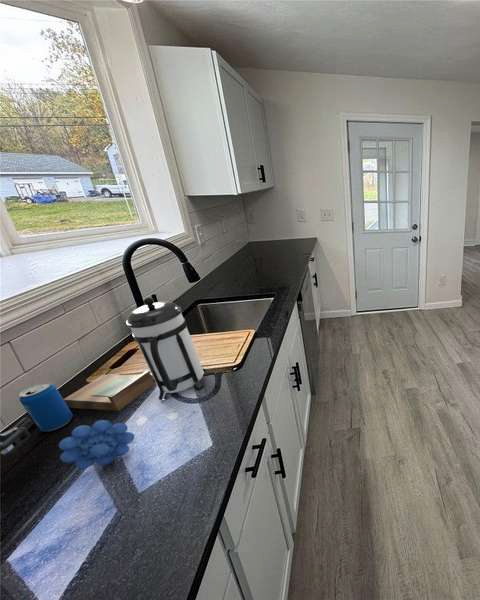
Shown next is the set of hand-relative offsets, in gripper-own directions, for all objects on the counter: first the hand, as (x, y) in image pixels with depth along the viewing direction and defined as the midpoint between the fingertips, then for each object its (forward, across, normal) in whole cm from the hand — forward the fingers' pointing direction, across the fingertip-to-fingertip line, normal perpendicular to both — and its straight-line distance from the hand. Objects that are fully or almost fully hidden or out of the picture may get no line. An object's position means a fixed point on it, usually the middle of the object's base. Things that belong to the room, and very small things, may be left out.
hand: (5, 425), depth 72 cm
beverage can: (+11, 0, +10) cm, 15 cm away
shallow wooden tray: (+20, -9, +10) cm, 24 cm away
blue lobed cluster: (-11, -22, +10) cm, 26 cm away
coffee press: (+15, -30, +10) cm, 35 cm away
